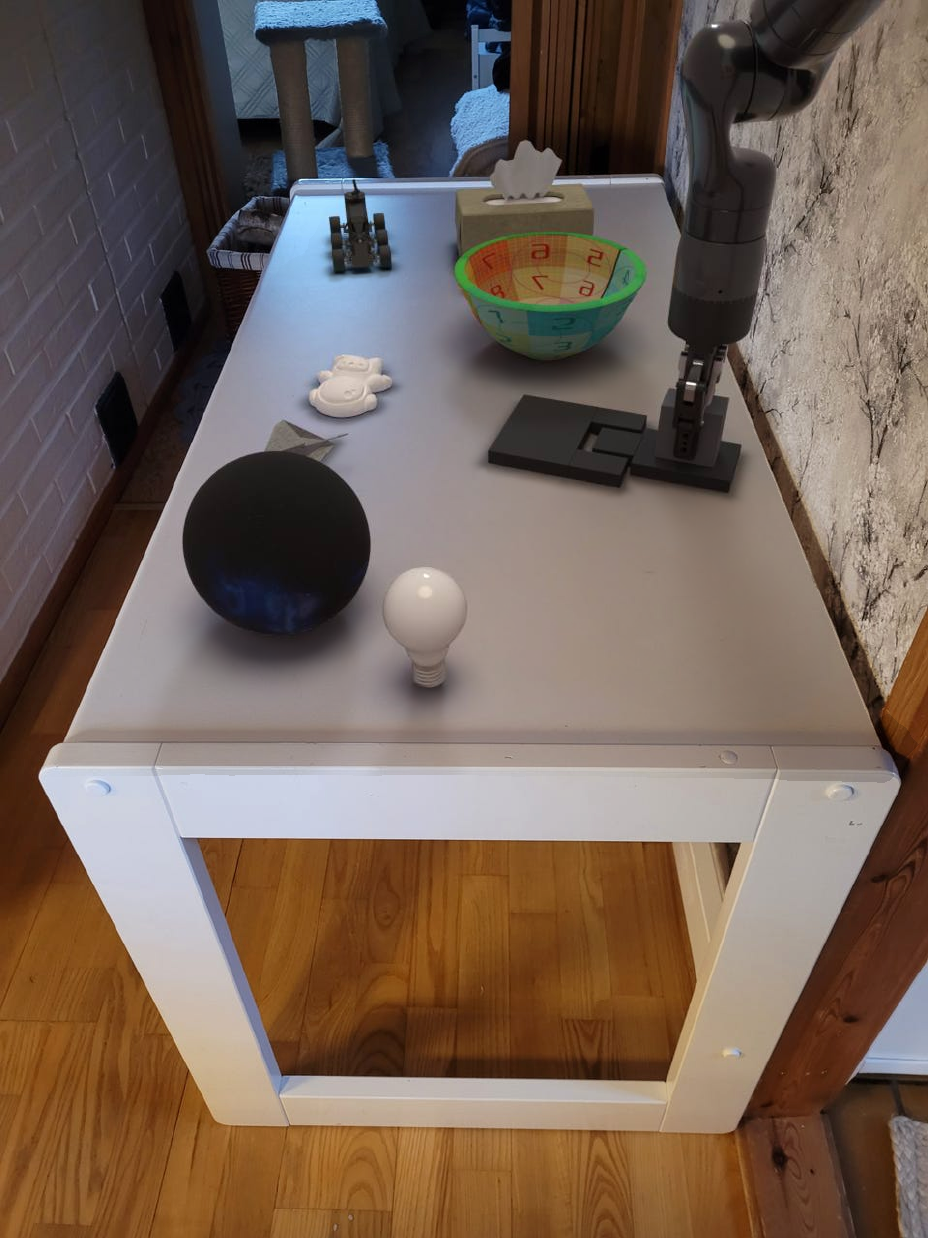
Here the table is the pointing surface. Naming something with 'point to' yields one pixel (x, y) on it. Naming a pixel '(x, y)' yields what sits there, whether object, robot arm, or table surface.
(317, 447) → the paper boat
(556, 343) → the bowl
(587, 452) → the notch pad
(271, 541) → the decorative sphere
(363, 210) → the toy vehicle
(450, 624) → the lightbulb
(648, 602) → the table surface
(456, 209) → the tissue box
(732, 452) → the pad
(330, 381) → the white bear figurine
